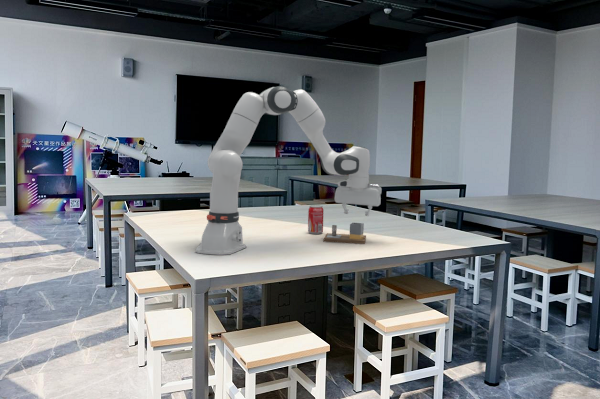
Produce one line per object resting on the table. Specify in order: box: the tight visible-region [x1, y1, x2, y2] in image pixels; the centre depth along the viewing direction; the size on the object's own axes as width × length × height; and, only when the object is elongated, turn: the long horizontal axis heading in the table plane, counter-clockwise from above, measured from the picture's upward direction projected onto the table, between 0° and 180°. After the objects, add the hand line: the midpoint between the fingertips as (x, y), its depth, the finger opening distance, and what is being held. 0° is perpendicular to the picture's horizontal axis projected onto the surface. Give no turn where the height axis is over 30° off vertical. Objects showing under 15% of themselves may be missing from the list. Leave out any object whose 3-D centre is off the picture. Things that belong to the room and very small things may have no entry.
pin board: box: [322, 224, 367, 245], centre depth 222 cm, size 14×18×6 cm
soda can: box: [307, 204, 324, 235], centre depth 236 cm, size 7×7×13 cm
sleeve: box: [349, 222, 365, 239], centre depth 221 cm, size 5×5×6 cm
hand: (356, 214), depth 220 cm, fingers open, 8 cm apart
